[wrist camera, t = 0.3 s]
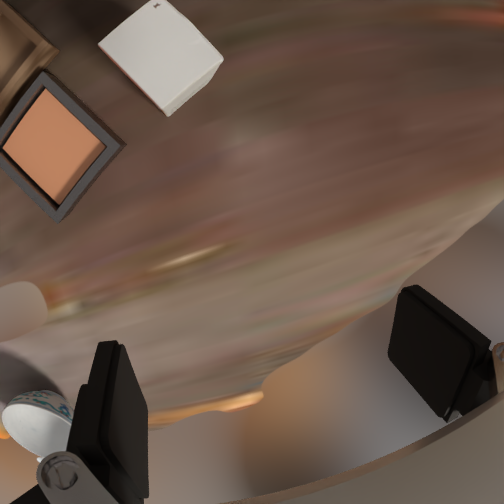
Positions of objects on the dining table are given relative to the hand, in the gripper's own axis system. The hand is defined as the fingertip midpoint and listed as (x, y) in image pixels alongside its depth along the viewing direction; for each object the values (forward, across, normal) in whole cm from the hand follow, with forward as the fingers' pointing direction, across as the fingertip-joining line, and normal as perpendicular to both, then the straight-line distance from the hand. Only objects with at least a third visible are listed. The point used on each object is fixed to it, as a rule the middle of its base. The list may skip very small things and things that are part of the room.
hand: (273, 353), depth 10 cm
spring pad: (+28, +16, -8) cm, 33 cm away
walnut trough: (+30, +26, -20) cm, 44 cm away
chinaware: (+30, +31, +31) cm, 53 cm away
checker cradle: (+30, +16, -8) cm, 35 cm away
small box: (+30, +3, -14) cm, 33 cm away
